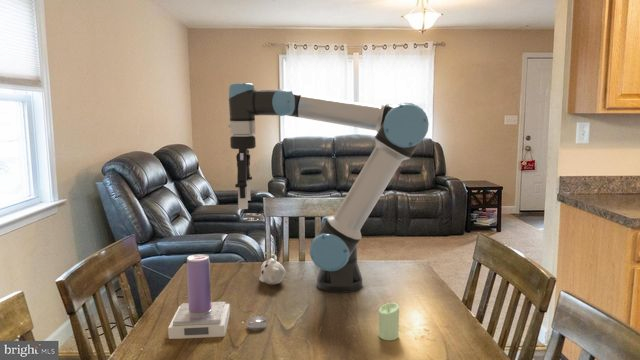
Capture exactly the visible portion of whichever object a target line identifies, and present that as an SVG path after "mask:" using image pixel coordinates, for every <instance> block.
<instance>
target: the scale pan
mask: <svg viewBox="0 0 640 360" xmlns="http://www.w3.org/2000/svg"><path fill="white" fill-rule="evenodd" d="M211 302H212V309H211V310H210V312H209V313H207V314H204V315H193V314H191V313H190V312H189V303H188V302H184V303H181V305H180V306H181V307H180V308H179V307H178V308H179V310H178V309H177V310H178V312H177V314H176V316H175V318H174V320H173V325H196V324H219V323H221V320H222V317H223V313H224V309H225V306H226V304H227V303H226V301H211Z"/></svg>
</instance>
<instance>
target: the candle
mask: <svg viewBox="0 0 640 360" xmlns="http://www.w3.org/2000/svg"><path fill="white" fill-rule="evenodd" d="M399 314H400V306H399V304H398V303H396V302H387V303H385V304H383V305H382V306H380V308H379V309H378V337H379V338H380V339H382V340H383V341H384V340H385V341H395V340H396V339H398V338H399V327H400V326H399V322H400V321H399V320H400V318H399V317H400V315H399Z"/></svg>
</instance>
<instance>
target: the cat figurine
mask: <svg viewBox="0 0 640 360" xmlns="http://www.w3.org/2000/svg"><path fill="white" fill-rule="evenodd" d="M277 260H278V256H277V255H276V254H274V253H270V258H269V259H267V260H265V261H263V263H262V264H261V266H260V273H259V281H260V282H261V283H266V284H268V285H277V284H280V283H281V282H282V281H283V279H284V277H285V275H286V269H285V267H284V266H283V264H281V263H280V262H279V261H277Z"/></svg>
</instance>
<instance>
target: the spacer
mask: <svg viewBox="0 0 640 360" xmlns="http://www.w3.org/2000/svg"><path fill="white" fill-rule="evenodd" d="M246 324H247V326H246V328H247V329H248V330H249V331H252V332H257V331H262V330H264V329H266V328H267V318H266V317H263V316H259V315H257V316H252V317H249V318H248V319H247V320H246Z"/></svg>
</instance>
